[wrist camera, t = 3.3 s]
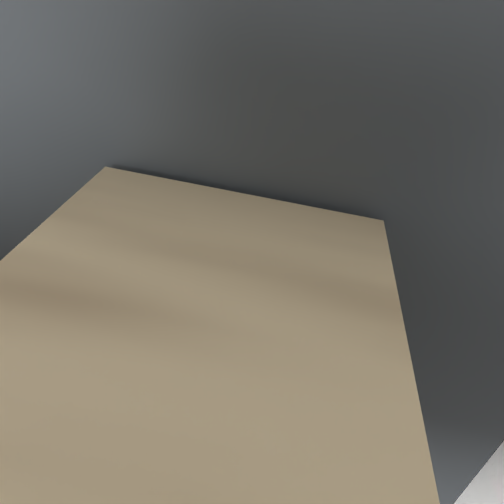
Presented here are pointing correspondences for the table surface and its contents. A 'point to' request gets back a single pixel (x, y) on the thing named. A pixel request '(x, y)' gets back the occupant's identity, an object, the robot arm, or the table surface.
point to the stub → (205, 354)
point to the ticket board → (294, 148)
